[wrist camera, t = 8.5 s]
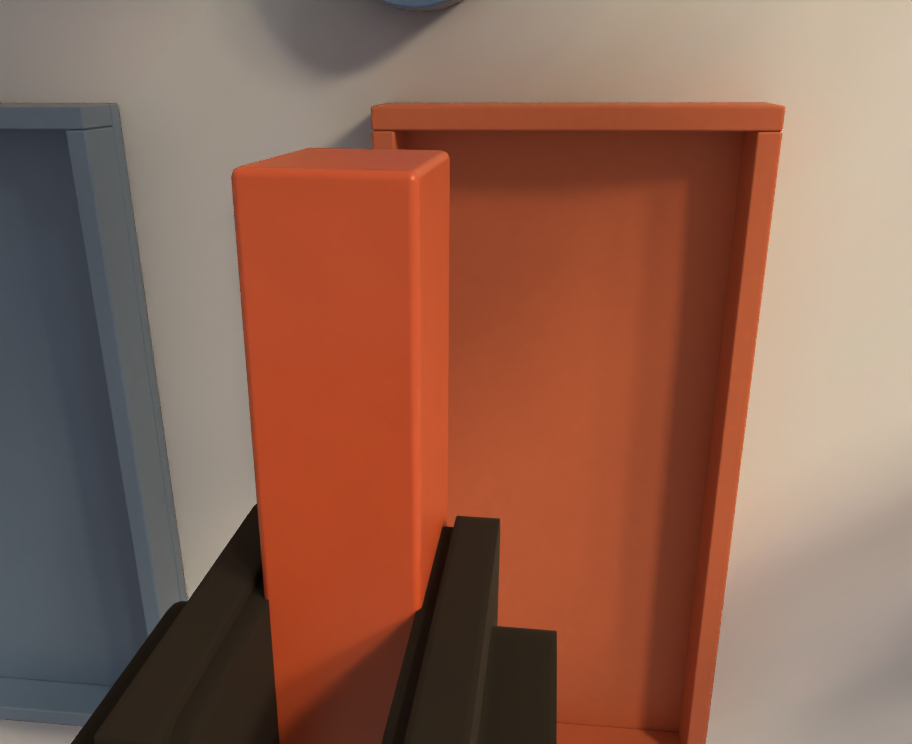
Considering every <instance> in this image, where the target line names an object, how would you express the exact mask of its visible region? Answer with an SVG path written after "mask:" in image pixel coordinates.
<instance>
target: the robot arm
mask: <svg viewBox="0 0 912 744" xmlns="http://www.w3.org/2000/svg"><path fill="white" fill-rule="evenodd" d="M499 558H500V518H486V517H471V516H456V519H455V523H454V527H447V526H443V527H442V530H441V534H440V538H439V542H438V546H437V550H436V554H435V558H434V562H433V566H432V570H431V573H430V577H429V581H428V585H427V589H426V593H425V597H424V601H423V605H422V607H421V609H420V610H419V611H416V613H415V617H414V621H413V624H412V628H411V632H410V636H409V640H408V643H407V647H406V651H405V655H404V659H403V662H402V666H401V670H400V674H399V677H398V681H397V685H396V689H395V693H394V696H393V700H392V704H391V708H390V712H389V715H388V719H387V723H386V727H385V731H384V734H383V739H382V743H381V744H557V631H553V630H541V629H528V628H516V627H504V626H497V623H498V590H499ZM71 744H280V742H279V729H278V716H277V703H276V689H275V676H274V663H273V650H272V637H271V624H270V610H269V600H267V599H265V596H264V584H263V571H262V558H261V546H260V533H259V521H258V508H257V504H256V505H255V506H254V507H253V508H252V510H251V511H250V513H249V514H248V515H247V517H246V518H245V520H244V521H243V523H242V524H241V525H240V527H239V528H238V530H237V531H236V533H235V534H234V536H233V537H232V538H231V540H230V541H229V543H228V544H227V546H226V547H225V548H224V550H223V551H222V553H221V554H220V556H219V557H218V559H217V560H216V561H215V563H214V564H213V566H212V567H211V569H210V570H209V572H208V573H207V574H206V576H205V577H204V579H203V580H202V582H201V583H200V584H199V586H198V587H197V589H196V590H195V592H194V593H193V595H192V596H191V597H190V599H189V600H188V601H179V602H176V603H174V604H173V605H172V606H171V607H170V608H169V609H168V610H167V611H166V613H165V614H164V616H163V617H162V618H161V620H160V621H159V622H158V624H157V625H156V627H155V628H154V629H153V631H152V632H151V634H150V635H149V636H148V638H147V639H146V640H145V642H144V643H143V645H142V646H141V647H140V649H139V650H138V652H137V653H136V654H135V656H134V657H133V658H132V660H131V661H130V663H129V664H128V665H127V667H126V668H125V670H124V671H123V672H122V674H121V675H120V677H119V678H118V679H117V681H116V682H115V683H114V685H113V686H112V688H111V689H110V690H109V692H108V693H107V695H106V696H105V697H104V699H103V700H102V701H101V703H100V704H99V706H98V707H97V708H96V710H95V711H94V713H93V714H92V715H91V717H90V718H89V719H88V721H87V722H86V724H85V725H84V726H83V728H82V729H81V731H80V732H79V733H78V735H77V736H76V738H75V739H74V740H73V742H72V743H71Z"/></svg>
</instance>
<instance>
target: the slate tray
mask: <svg viewBox="0 0 912 744" xmlns="http://www.w3.org/2000/svg"><path fill="white" fill-rule="evenodd" d="M179 601H187V594H186V587H185V580H184V573H183V566H182V558H181V551H180V544H179V537H178V530H177V523H176V516H175V508H174V501H173V494H172V487H171V480H170V473H169V466H168V458H167V451H166V444H165V437H164V430H163V423H162V415H161V408H160V401H159V394H158V387H157V380H156V373H155V365H154V358H153V351H152V344H151V337H150V330H149V323H148V315H147V308H146V301H145V294H144V287H143V280H142V273H141V265H140V258H139V251H138V244H137V237H136V230H135V222H134V215H133V208H132V201H131V194H130V187H129V180H128V172H127V165H126V158H125V151H124V144H123V137H122V130H121V122H120V115H119V108H118V104H116V103H0V719H6V720H18V721H29V722H40V723H52V724H63V725H75V726H84V725H85V724H86V722H87V721H88V719H89V718H90V717H91V715H92V714H93V713H94V711H95V710H96V708H97V707H98V706H99V704H100V703H101V701H102V700H103V699H104V697H105V696H106V695H107V693H108V692H109V690H110V689H111V688H112V686H113V685H114V683H115V682H116V681H117V679H118V678H119V677H120V675H121V674H122V672H123V671H124V670H125V668H126V667H127V665H128V664H129V663H130V661H131V660H132V658H133V657H134V656H135V654H136V653H137V652H138V650H139V649H140V647H141V646H142V645H143V643H144V642H145V640H146V639H147V638H148V636H149V635H150V634H151V632H152V631H153V629H154V628H155V627H156V625H157V624H158V622H159V621H160V620H161V618H162V617H163V616H164V614H165V613H166V611H167V610H168V609H169V608H170V607H171V606H172V605H173V604H174V603H176V602H179Z"/></svg>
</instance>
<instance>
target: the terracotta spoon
mask: <svg viewBox="0 0 912 744" xmlns="http://www.w3.org/2000/svg"><path fill="white" fill-rule="evenodd" d="M231 180H232V192H233V205H234V217H235V230H236V243H237V255H238V268H239V281H240V293H241V306H242V319H243V331H244V344H245V356H246V369H247V382H248V394H249V407H250V420H251V432H252V445H253V457H254V470H255V483H256V495H257V508H258V521H259V533H260V546H261V558H262V571H263V584H264V596H265V599H267V600H269V610H270V624H271V637H272V650H273V663H274V676H275V689H276V703H277V716H278V729H279V742H280V744H381V743H382V739H383V734H384V731H385V727H386V723H387V719H388V715H389V712H390V708H391V704H392V700H393V696H394V693H395V689H396V685H397V681H398V677H399V674H400V670H401V666H402V662H403V659H404V655H405V651H406V647H407V643H408V640H409V636H410V632H411V628H412V624H413V621H414V617H415V613H416V611H419V610H420V609H421V607H422V605H423V601H424V597H425V593H426V589H427V585H428V581H429V577H430V573H431V570H432V566H433V562H434V558H435V554H436V550H437V546H438V542H439V538H440V534H441V530H442V527H443V526H447V527H448V372H449V213H450V158H449V156H448V153H446V152H444V151H442V150H396V149H342V148H306V149H303V150H299V151H295V152H292V153H288V154H284V155H280V156H277V157H273V158H269V159H266V160H262V161H258V162H255V163H251V164H247V165H243V166H240V167H238V168H235V169H234V170H233V172H232V176H231Z"/></svg>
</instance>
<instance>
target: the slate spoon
mask: <svg viewBox="0 0 912 744" xmlns="http://www.w3.org/2000/svg"><path fill="white" fill-rule="evenodd" d="M378 1H380V2H383V3H386V4H388V5H391V6H394V7H397V8H400V9H404V10H409V11H419V12H426V11H435V10H440V9H444V8H447V7H450V6H452V5H455V4H457V3H459V2H460V1H462V0H378Z"/></svg>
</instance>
